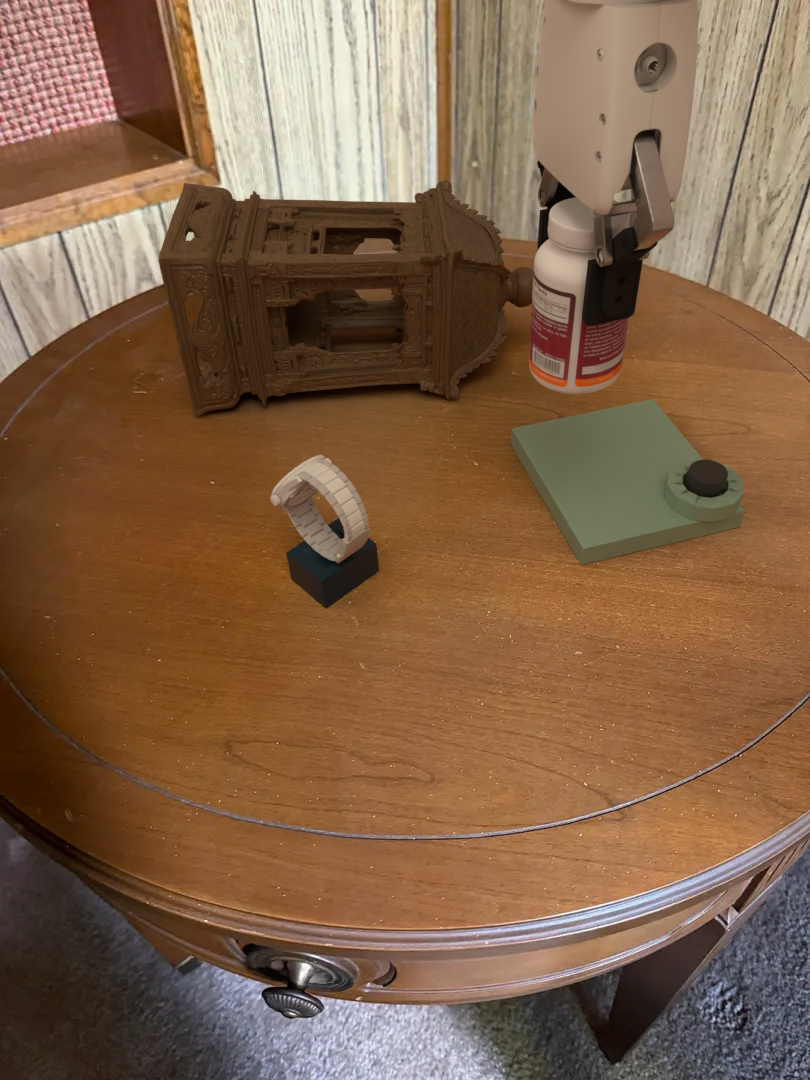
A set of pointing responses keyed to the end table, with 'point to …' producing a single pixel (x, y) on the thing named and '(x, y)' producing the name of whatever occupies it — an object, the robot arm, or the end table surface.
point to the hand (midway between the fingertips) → (582, 289)
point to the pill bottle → (571, 308)
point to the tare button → (706, 478)
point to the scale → (622, 481)
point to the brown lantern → (332, 292)
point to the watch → (326, 531)
